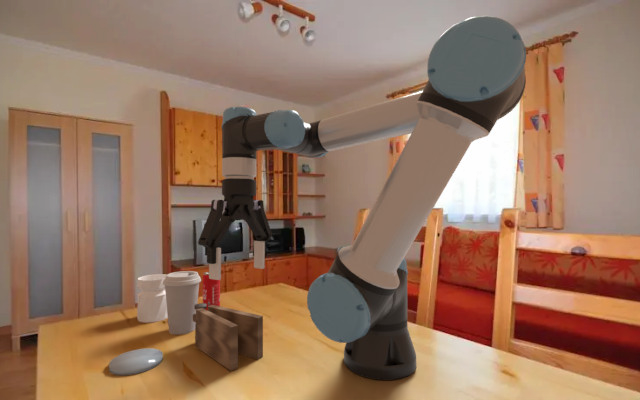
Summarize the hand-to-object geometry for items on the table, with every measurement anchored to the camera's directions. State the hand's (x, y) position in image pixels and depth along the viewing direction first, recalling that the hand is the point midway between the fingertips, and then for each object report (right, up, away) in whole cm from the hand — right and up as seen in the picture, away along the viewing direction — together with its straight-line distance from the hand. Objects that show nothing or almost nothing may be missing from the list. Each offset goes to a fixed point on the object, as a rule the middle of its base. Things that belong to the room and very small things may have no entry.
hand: (238, 273), depth 75 cm
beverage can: (-16, -19, +31) cm, 39 cm away
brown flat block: (-4, -18, +2) cm, 19 cm away
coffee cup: (-19, -19, +15) cm, 30 cm away
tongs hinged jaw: (-6, -18, 0) cm, 19 cm away
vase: (-31, -19, +25) cm, 44 cm away
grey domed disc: (-21, -18, -4) cm, 28 cm away
